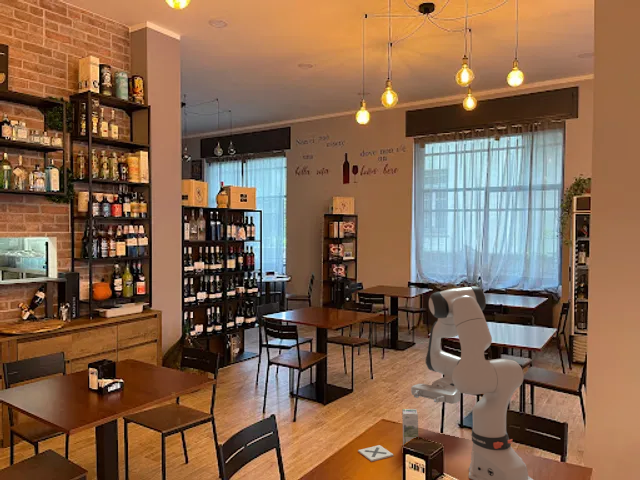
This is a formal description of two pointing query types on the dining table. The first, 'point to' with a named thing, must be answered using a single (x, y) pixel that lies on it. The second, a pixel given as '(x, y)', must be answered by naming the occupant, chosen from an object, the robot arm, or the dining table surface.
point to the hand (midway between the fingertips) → (425, 398)
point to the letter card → (375, 453)
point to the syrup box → (409, 424)
